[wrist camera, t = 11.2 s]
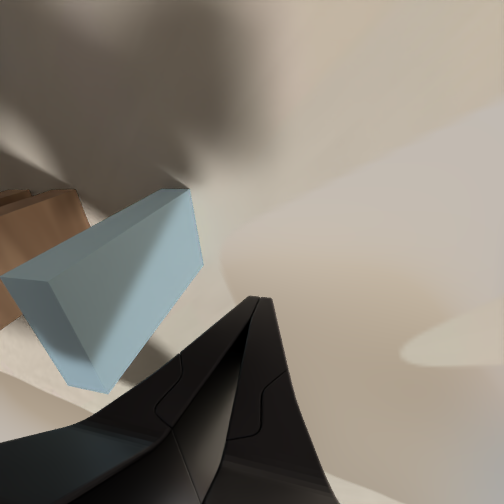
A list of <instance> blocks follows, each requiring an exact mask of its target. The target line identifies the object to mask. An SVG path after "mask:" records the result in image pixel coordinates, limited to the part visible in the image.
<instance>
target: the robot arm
mask: <svg viewBox="0 0 504 504" xmlns="http://www.w3.org/2000/svg"><path fill="white" fill-rule="evenodd" d="M0 504H340V503H339V502H338V500H337V498H336V497H335V495H334V493H333V491H332V489H331V487H330V484H329V482H328V480H327V478H326V476H325V473H324V471H323V469H322V466H321V464H320V461H319V459H318V456H317V454H316V451H315V448H314V446H313V443H312V441H311V438H310V435H309V433H308V431H307V428H306V425H305V422H304V420H303V417H302V414H301V412H300V409H299V406H298V404H297V400H296V397H295V393H294V390H293V386H292V382H291V378H290V373H289V370H288V365H287V361H286V357H285V352H284V348H283V344H282V339H281V335H280V331H279V326H278V322H277V318H276V313H275V309H274V304H273V301H272V299H271V298H267V297H261V298H260V297H257V296H248V297H247V298H246V299H244V300H243V301H242V302H241V303H240V304H238V305H237V306H236V307H235V308H233V309H232V310H231V311H230V312H229V313H227V314H226V315H225V316H224V317H222V318H221V319H220V320H219V321H218V322H216V323H215V324H214V325H213V326H212V327H210V328H209V329H208V330H207V331H205V332H204V333H203V334H202V335H201V336H199V337H198V338H197V339H196V340H194V341H193V342H192V343H191V344H190V345H188V346H187V347H186V348H185V349H184V350H182V351H181V352H180V354H177V355H176V356H175V357H174V358H172V359H171V360H170V361H169V362H167V363H166V364H165V365H164V366H162V367H161V368H160V369H158V370H157V371H156V372H155V373H153V374H152V375H150V376H149V377H148V378H146V379H145V380H143V381H142V382H141V383H139V384H138V385H136V386H135V387H133V388H132V389H130V390H129V391H128V392H126V393H125V394H123V395H122V396H120V397H119V398H117V399H116V400H114V401H113V402H111V403H110V404H109V405H107V406H106V407H104V408H103V409H101V410H100V411H98V412H97V413H95V414H94V415H92V416H90V417H88V418H87V419H85V420H83V421H80V422H78V423H76V424H73V425H70V426H67V427H63V428H59V429H55V430H51V431H47V432H43V433H39V434H34V435H31V436H26V437H22V438H18V439H14V440H10V441H6V442H2V443H0Z"/></svg>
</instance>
